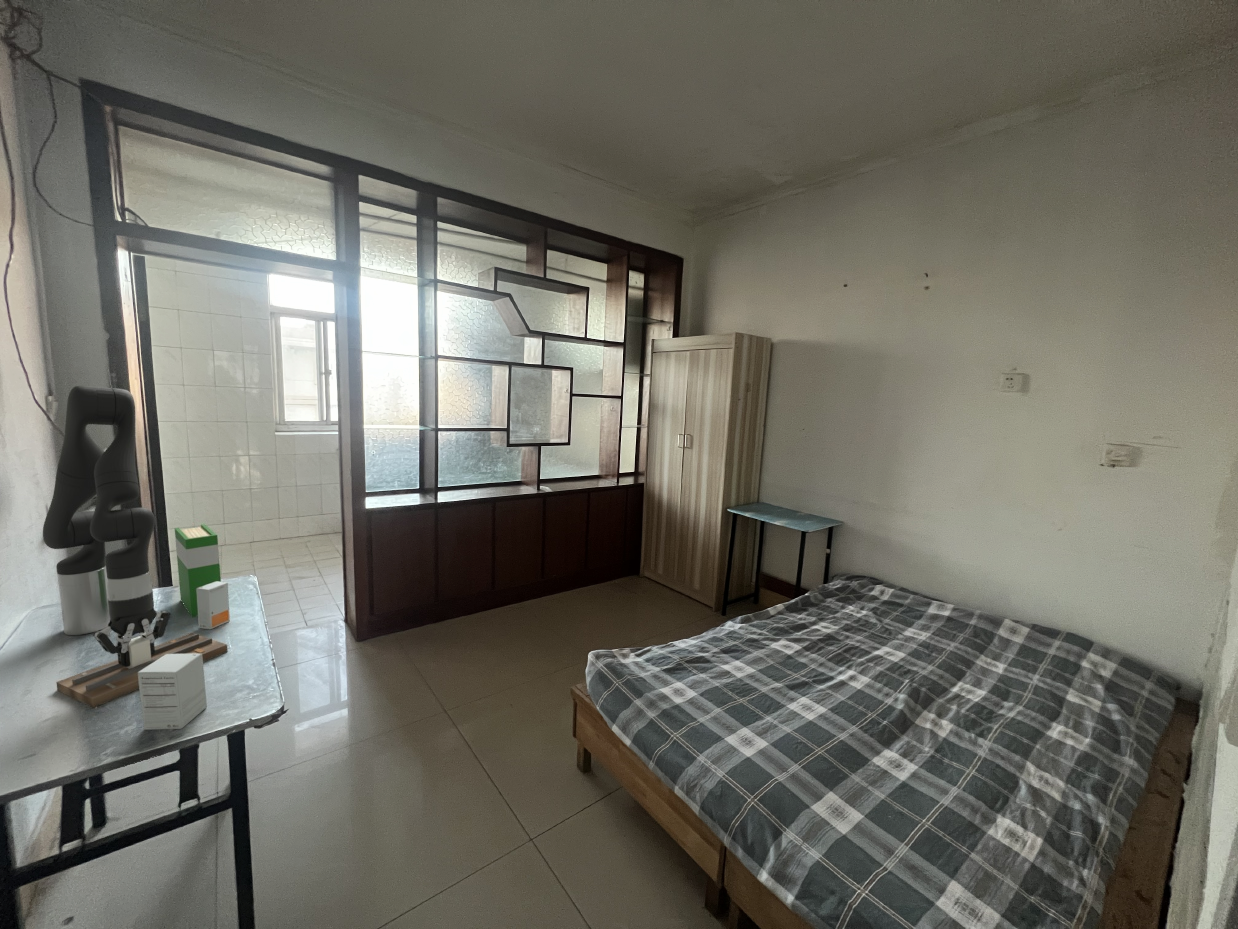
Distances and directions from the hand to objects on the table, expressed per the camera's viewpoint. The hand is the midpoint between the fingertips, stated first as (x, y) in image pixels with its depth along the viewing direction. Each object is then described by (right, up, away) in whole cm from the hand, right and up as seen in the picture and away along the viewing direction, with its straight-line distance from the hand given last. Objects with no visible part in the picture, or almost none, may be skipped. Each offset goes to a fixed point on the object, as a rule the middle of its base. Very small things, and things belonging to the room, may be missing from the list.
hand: (137, 661), depth 118 cm
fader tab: (0, -1, 0) cm, 1 cm away
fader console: (+1, -3, +2) cm, 4 cm away
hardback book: (-17, +2, +39) cm, 42 cm away
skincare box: (-3, 0, +26) cm, 26 cm away
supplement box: (+23, -6, -15) cm, 28 cm away
